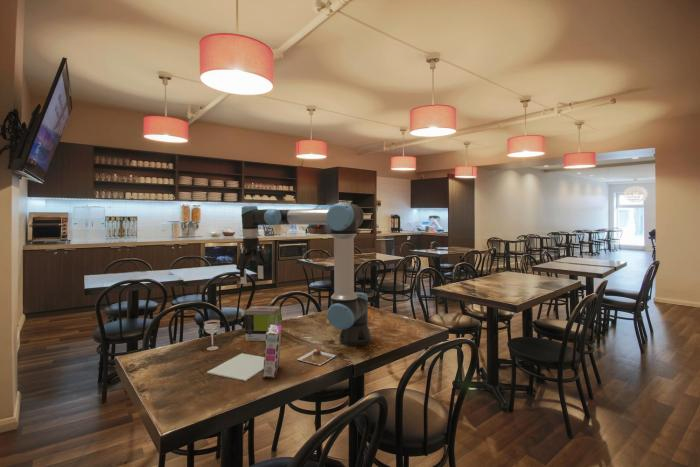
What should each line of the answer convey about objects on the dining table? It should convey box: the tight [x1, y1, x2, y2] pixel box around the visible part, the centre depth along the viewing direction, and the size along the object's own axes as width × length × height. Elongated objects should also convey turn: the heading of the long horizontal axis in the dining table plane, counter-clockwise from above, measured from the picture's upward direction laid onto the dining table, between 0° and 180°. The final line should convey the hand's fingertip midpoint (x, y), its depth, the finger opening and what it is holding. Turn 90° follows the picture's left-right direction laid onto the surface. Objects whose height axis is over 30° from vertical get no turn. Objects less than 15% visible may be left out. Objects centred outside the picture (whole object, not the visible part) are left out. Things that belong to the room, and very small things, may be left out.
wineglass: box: [203, 319, 221, 351], centre depth 161 cm, size 7×7×12 cm
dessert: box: [296, 348, 337, 366], centre depth 149 cm, size 12×12×5 cm
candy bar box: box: [262, 324, 283, 379], centre depth 136 cm, size 11×5×16 cm, turn 5°
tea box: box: [244, 305, 282, 342], centre depth 174 cm, size 15×10×15 cm
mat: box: [206, 352, 264, 382], centre depth 141 cm, size 18×20×1 cm
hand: (252, 281), depth 175 cm, fingers open, 13 cm apart
